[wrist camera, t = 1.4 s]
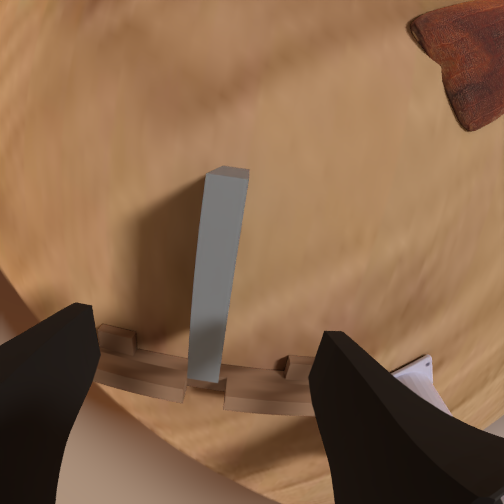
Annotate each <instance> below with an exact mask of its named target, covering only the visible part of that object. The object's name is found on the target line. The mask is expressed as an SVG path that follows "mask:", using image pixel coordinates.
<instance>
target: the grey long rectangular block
mask: <svg viewBox="0 0 504 504" xmlns="http://www.w3.org/2000/svg"><path fill="white" fill-rule="evenodd" d="M248 182H249V169H242V168H235V167H228V166H221V167H219V168H217V169H215V170H213V171H210V172H208V173H206V179H205V186H204V194H203V201H202V209H201V217H200V226H199V235H198V244H197V253H196V263H195V273H194V284H193V295H192V308H191V321H190V336H189V352H188V371H187V378H189V379H195V380H201V381H208V382H214V383H218V380H219V373H220V366H221V359H222V352H223V345H224V338H225V331H226V324H227V317H228V310H229V304H230V297H231V290H232V284H233V277H234V270H235V264H236V257H237V251H238V244H239V238H240V232H241V225H242V219H243V213H244V207H245V200H246V194H247V188H248Z"/></svg>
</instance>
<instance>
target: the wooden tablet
mask: <svg viewBox="0 0 504 504" xmlns="http://www.w3.org/2000/svg"><path fill="white" fill-rule="evenodd" d="M410 28H411V31H412V33H413V35H414V37H415V38H416V40H417V41H418V42H419V44H420V45H421V46H422V48H423V49H424V50H425V52H426V53H427V55H428V56H429V57H430V58H431V59H432V60H434V61H435V62H436V63H438V64H439V65H440V66H441V68H442V71H441V72H442V79H443V83H444V87H445V90H446V93H447V96H448V98H449V100H450V103H451V105H452V107H453V109H454V112H455V114H456V116H457V118H458V119H459V121H460V123H461V125H462V126H464V128H466V129H468V130H469V131H476V130H478V129H480V128H481V127H483V126H485V125H487V124H489V123H491V122H493V121H494V120H496V119H497V118H499V117H500V116H501V115H503V114H504V0H476V1H469V2H465V3H460V4H456V5H452V6H447V7H444V8H440V9H436V10H434V11H430V12H427V13H425V14H423V15H421V16H419V17H418V18H417V19H415V20H414V21H413V22H412V24H411V26H410Z"/></svg>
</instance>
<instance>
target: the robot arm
mask: <svg viewBox="0 0 504 504" xmlns="http://www.w3.org/2000/svg"><path fill="white" fill-rule="evenodd" d="M100 356H101V353H100V348H99V343H98V338H97V333H96V328H95V322H94V316H93V309H92V305H86V304H81V303H73V304H71V305H69V306H67V307H66V308H64V309H62V310H60V311H58V312H57V313H55V314H53V315H52V316H50V317H48V318H47V319H45V320H43V321H42V322H40V323H39V324H37V325H35V326H34V327H32V328H30V329H28V330H27V331H25V332H24V333H22V334H20V335H18V336H16V337H14V338H13V339H11V340H9V341H7V342H5V343H4V344H2V345H1V346H0V504H55V501H56V491H57V484H58V478H59V472H60V467H61V463H62V458H63V454H64V450H65V446H66V442H67V439H68V437H69V434H70V431H71V429H72V427H73V424H74V422H75V420H76V417H77V415H78V413H79V410H80V408H81V406H82V404H83V402H84V399H85V397H86V395H87V393H88V390H89V388H90V386H91V384H92V381H93V379H94V376H95V373H96V370H97V366H98V363H99V360H100ZM308 380H309V388H310V395H311V401H312V406H313V410H314V413H315V417H316V420H317V424H318V427H319V431H320V434H321V437H322V441H323V444H324V448H325V451H326V454H327V458H328V462H329V466H330V471H331V477H332V484H333V491H334V500H335V504H504V438H502V437H499V436H496V435H493V434H490V433H488V432H485V431H482V430H480V429H477V428H475V427H473V426H470V425H468V424H466V423H464V422H462V421H460V420H458V419H456V418H454V417H453V416H452V414H451V413H450V411H449V409H448V408H447V406H446V405H445V403H444V401H443V400H442V398H441V397H440V395H439V394H438V392H437V390H436V389H435V387H434V386H433V375H432V358H431V356H430V355H425V356H424V357H422V358H420V359H418V360H416V361H414V362H413V363H411V364H409V365H407V366H405V367H403V368H401V369H399V370H397V371H395V372H393V373H389V372H388V371H387V370H386V369H385V368H384V367H383V366H381V365H380V364H379V363H378V362H377V361H376V360H375V359H373V358H372V357H371V356H370V355H369V354H368V353H367V352H366V351H365V350H363V349H362V348H361V347H360V346H359V345H358V344H357V343H356V342H354V341H353V340H352V339H351V338H350V337H349V336H347V335H346V334H345V333H344V332H342V331H324V333H323V336H322V339H321V342H320V345H319V348H318V351H317V354H316V357H315V359H314V362H313V365H312V368H311V370H310V373H309V376H308Z"/></svg>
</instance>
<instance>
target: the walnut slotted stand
mask: <svg viewBox="0 0 504 504" xmlns="http://www.w3.org/2000/svg"><path fill="white" fill-rule="evenodd" d="M98 338H99V344H100V353H101V356H100V360H99V363H98V366H97V370H96V373H95V376H94V379H93V381H94V382H97V383H100V384H104V385H107V386H110V387H114V388H117V389H121V390H125V391H129V392H132V393H136V394H140V395H145V396H149V397H153V398H158V399H162V400H167V401H172V402H177V403H183V401H184V396H185V392H186V388H187V386H192V387H198V388H204V389H211V390H218V391H225V396H224V407H223V410H228V411H237V412H247V413H257V414H271V415H289V416H315V413H314V410H313V406H312V401H311V395H310V388H309V380H308V376H309V373H310V370H311V368H312V365H313V362H314V359H315V357H303V356H291V355H289V357H288V360H287V363H286V366H285V370H284V371H277V370H267V369H257V368H248V367H240V366H232V365H225V364H221V366H220V373H219V380H218V383H214V382H208V381H201V380H195V379H189V378H187V371H188V359H187V358H181V357H176V356H171V355H166V354H161V353H156V352H151V351H146V350H142V349H138V348H137V340H136V332H135V331H131V330H126V329H122V328H118V327H114V326H109V325H105V324H102V325H101V326H100V328H99V329H98Z"/></svg>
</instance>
